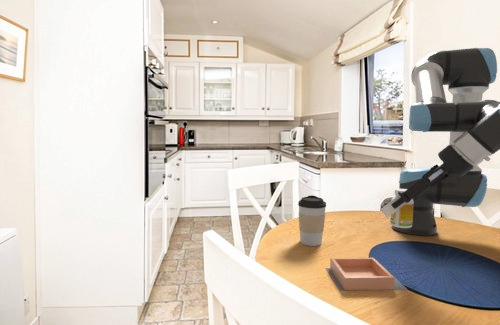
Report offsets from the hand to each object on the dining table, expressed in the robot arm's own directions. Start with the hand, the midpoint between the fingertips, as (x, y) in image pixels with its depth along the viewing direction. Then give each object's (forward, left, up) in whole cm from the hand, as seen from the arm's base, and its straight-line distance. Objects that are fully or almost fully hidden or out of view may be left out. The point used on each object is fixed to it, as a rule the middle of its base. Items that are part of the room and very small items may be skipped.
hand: (387, 211), depth 89 cm
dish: (+11, +9, -15) cm, 20 cm away
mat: (+10, +9, -15) cm, 20 cm away
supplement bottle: (-3, +2, -4) cm, 5 cm away
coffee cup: (+17, -18, -15) cm, 29 cm away
